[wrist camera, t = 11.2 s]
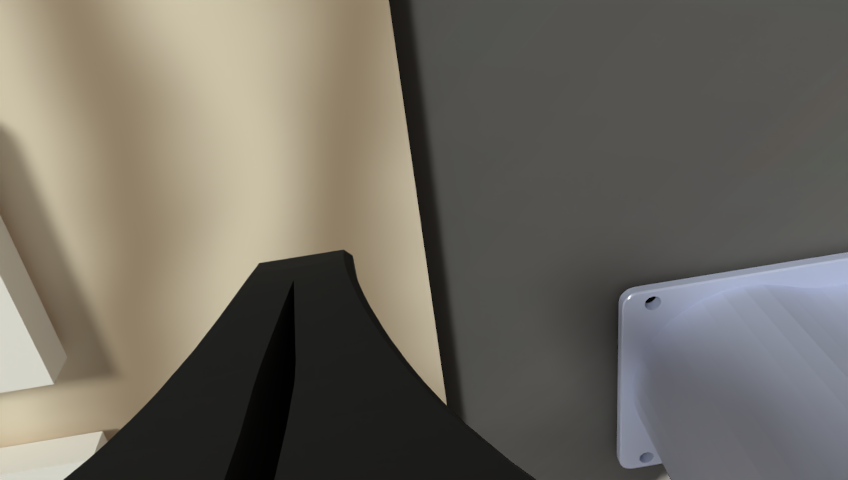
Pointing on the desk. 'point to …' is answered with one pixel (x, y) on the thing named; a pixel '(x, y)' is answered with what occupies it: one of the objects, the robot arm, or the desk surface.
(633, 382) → the robot arm
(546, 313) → the desk surface
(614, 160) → the desk surface
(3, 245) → the tile
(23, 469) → the tile
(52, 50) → the board
